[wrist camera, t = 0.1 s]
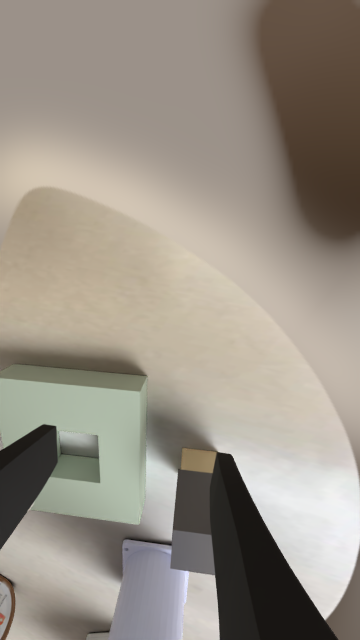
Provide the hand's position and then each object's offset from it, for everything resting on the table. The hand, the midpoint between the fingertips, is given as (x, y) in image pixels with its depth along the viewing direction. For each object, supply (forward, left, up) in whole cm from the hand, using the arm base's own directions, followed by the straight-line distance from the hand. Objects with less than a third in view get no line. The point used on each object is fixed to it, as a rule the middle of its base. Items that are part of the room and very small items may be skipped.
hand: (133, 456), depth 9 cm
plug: (-11, -4, -10) cm, 16 cm away
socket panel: (-9, +8, -10) cm, 16 cm away
